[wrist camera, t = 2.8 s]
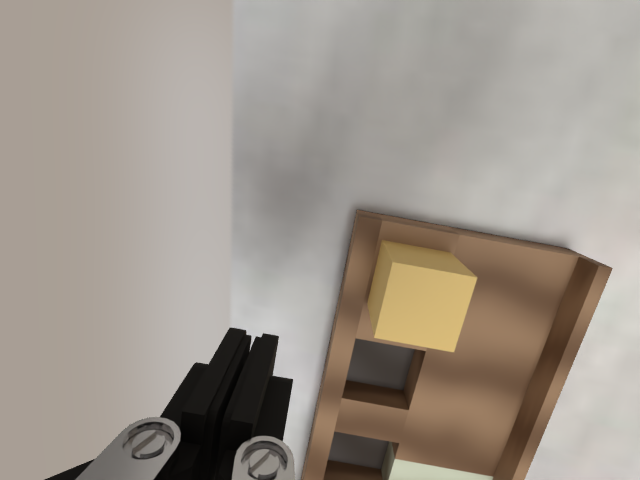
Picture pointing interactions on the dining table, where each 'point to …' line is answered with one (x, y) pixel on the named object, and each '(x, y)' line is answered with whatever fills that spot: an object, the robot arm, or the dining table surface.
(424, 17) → the dining table surface
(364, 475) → the board
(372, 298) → the ochre block
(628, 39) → the dining table surface
